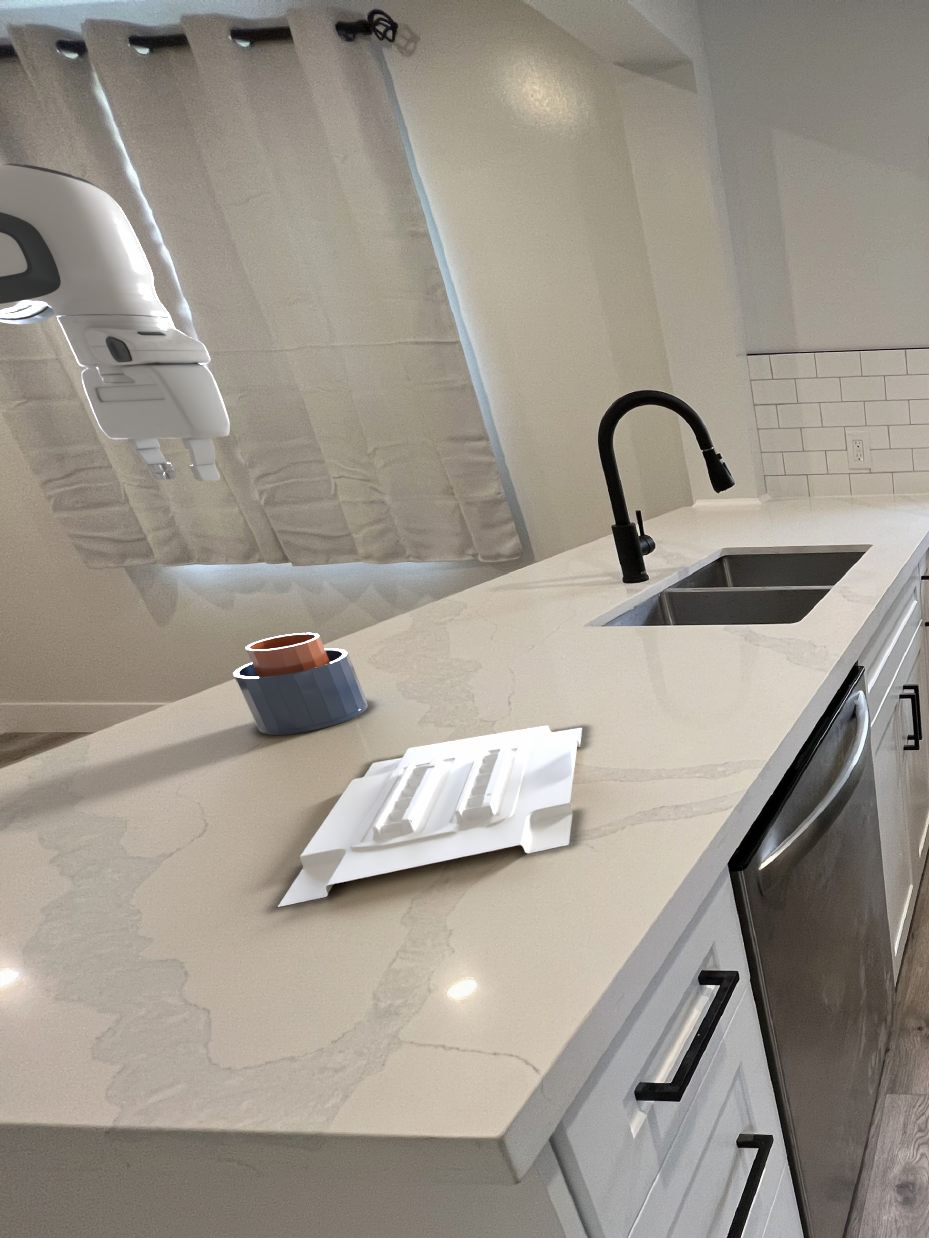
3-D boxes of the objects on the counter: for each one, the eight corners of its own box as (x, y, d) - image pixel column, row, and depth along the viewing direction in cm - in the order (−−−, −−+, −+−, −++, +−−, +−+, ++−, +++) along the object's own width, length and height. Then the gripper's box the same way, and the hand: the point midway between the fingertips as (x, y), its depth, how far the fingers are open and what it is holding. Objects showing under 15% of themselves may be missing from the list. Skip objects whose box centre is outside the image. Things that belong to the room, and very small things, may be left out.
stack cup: (239, 727, 94) (213, 672, 91) (335, 696, 103) (314, 645, 100) (291, 740, 90) (265, 682, 87) (387, 706, 99) (366, 653, 96)
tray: (276, 908, 61) (256, 866, 59) (374, 772, 85) (362, 739, 83) (571, 844, 68) (559, 805, 66) (584, 735, 92) (576, 705, 90)
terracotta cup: (265, 719, 95) (232, 647, 91) (326, 699, 101) (298, 631, 97) (298, 726, 93) (266, 653, 89) (359, 706, 98) (331, 635, 94)
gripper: (44, 352, 88) (106, 482, 94) (139, 343, 81) (200, 485, 86) (118, 352, 94) (173, 475, 99) (214, 344, 86) (267, 478, 92)
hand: (186, 480), depth 93 cm, fingers open, 8 cm apart
